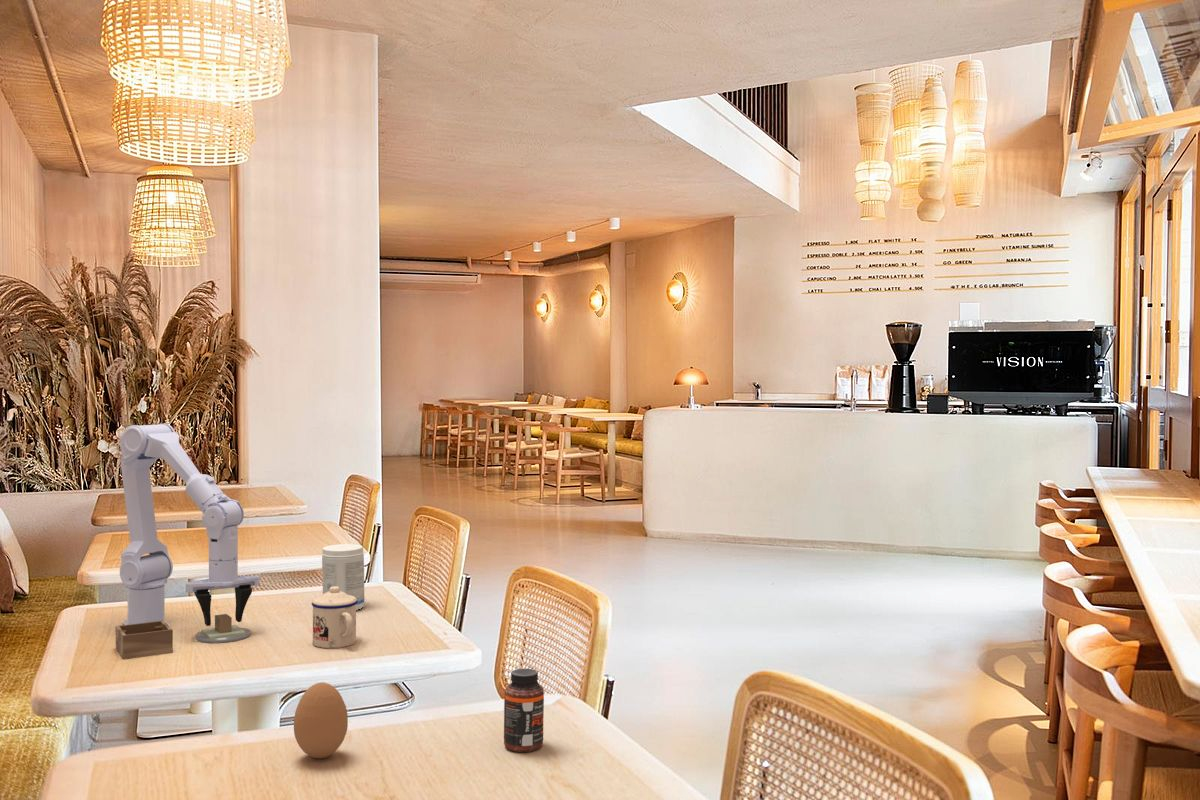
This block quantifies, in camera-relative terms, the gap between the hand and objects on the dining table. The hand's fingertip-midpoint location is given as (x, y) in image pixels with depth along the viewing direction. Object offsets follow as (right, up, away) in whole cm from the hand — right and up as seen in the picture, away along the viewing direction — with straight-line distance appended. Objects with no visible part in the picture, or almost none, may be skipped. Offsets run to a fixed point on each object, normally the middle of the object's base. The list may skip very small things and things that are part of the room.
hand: (223, 623), depth 216 cm
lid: (0, -2, 0) cm, 2 cm away
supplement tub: (+19, -3, +26) cm, 32 cm away
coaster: (0, -3, 0) cm, 3 cm away
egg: (+39, -5, -67) cm, 77 cm away
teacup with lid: (+26, -3, -6) cm, 26 cm away
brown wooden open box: (-12, -3, -11) cm, 17 cm away
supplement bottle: (+68, -5, -62) cm, 92 cm away
